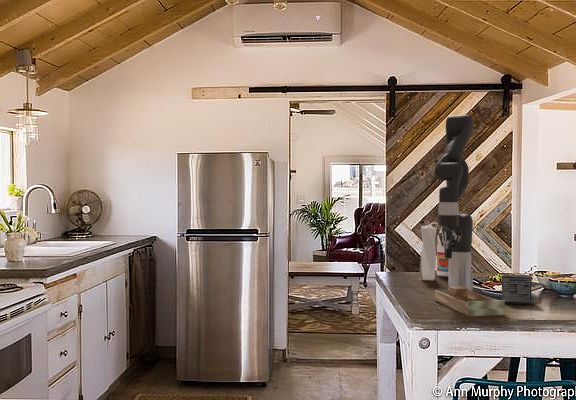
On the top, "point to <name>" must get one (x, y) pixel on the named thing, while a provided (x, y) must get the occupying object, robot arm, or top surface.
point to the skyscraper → (428, 253)
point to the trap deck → (473, 304)
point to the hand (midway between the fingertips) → (448, 258)
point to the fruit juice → (441, 259)
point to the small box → (516, 289)
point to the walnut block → (459, 293)
